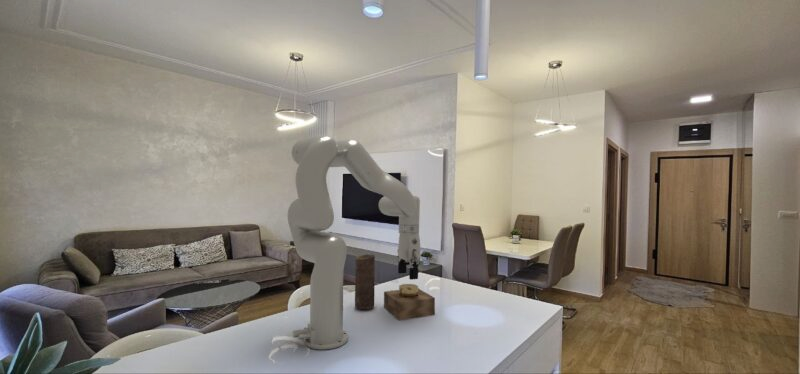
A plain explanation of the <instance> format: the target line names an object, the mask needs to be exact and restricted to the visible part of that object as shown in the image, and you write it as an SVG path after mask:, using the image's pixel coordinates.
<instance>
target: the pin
mask: <svg viewBox="0 0 800 374" xmlns="http://www.w3.org/2000/svg"><path fill="white" fill-rule="evenodd" d="M418 288H419V285H417V284H413V283H403V284H400V285H399V286H398V290H399V296H401V297H405V298H412V297H416V296H418Z"/></svg>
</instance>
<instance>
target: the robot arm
mask: <svg viewBox="0 0 800 374" xmlns="http://www.w3.org/2000/svg"><path fill="white" fill-rule="evenodd" d="M291 157H292V159H293V161H294V162H295V163H296V164H297V165H298V166H297V169H296V172H295V181H294V182H295V187H296V193H297V199H294V200H293V201H292V202H291V203H290V204H289V207H288V210H287V221H288V227H289V229H290V233H291V238H292V240H293V244H294V248H295V250H296V252H297V254H298V256H299V257H300V258H301V259H303V260H305V262H306V261H307V262H309V263H314V265H313V268H312V271H311V274H310V281H309V282H310V285H309V289H310V290H309V292H310V295H309V296H310V298H309V300H310V302H309V306H310V307H309V323H307V327H304V328H303V329H295V330H292V332H293V333H292V337H293V338H298V340H303V341H304V345H306V347H308V348H310V349H313V350H320V351H321V350H332V349H335V348H339V347H341V346H344V345H345V344H346V343H347V342H348V341H349V340H348V339H349V334H348V332H347V331H345V330H344V274H345V273H344V272H345V265H346V258H347V252H348V251H347V250H348V246H347V244H346V242H345V240H344V239H343V238H342V237H341V236H339V235H338V234H336V233H331V232H325V231H326V230H328V229H329V228H331V227H332V226H333V224H334V222H335V221H334V220H335V212H334V209H333V206H332V202H331V201H332V200H331V197H330V193H329V189H328V185H327V184H328V182H327V175H328V172H329V169H330V168H342V167H343V168H346V170H347V171H348V172H349V173H350V175H352V176H353V178H354V179H355V180H356V181H357V182H358V183H359V185H360V186H361V187H362V188H364V189H366V190H368V191H371V192H372V193H376V194H378V195H381V196H383V197H381V198H380V199H379V201H378V209H379V211H380V213H381V214H383V215H385V216H389V217H398V234H399V237H398V248H397V250H396V251H397V258H398V260H397V263H398V268H397V269H398V270H397V273H398V274H399V275H400V274H406V273H407V263H409V270H408V271H409V273H408V275H409V276H408V277H409V280H418V279H419V268H420V264H421V263H420V262H421V237H420V204H421V200H420V197H419V196H416V195H413V194H412V191H410V189H409V188H408V187H407V186H406V185H405V184H404V183H403V182H402V181H400V180H399V179H397V178H396V177H394V176H393V175H390V174H389V173H388V172H386V171H385V170H383V169H382V168H381V167H380V166H379V165H378V163H377V162H376V161H375V160H374V158H373V157H372V156H371V154H370V153H369V152H368V151H367V149H366V148H365V147H364V145H363V144H362V143H360V141H358V140H355V139H350V138H348V139H342V140H336V139H335V138H333V137H332V136H329V135H317V136H311V137H308V138H307V137H306V138H302V139H298V140H297V141H296V142H295V143H294V144H293V146H292V148H291Z"/></svg>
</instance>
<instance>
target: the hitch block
mask: <svg viewBox="0 0 800 374" xmlns="http://www.w3.org/2000/svg"><path fill="white" fill-rule="evenodd" d="M435 299H436V297H434V296H432V295H431V294H429V293H427V292H425V291H424V290H422V289H420V288H419V287H418V296H416V297H412V298H405V297H401V296H399V289H395V290H386V291H384V292H383V308H384V309H385V310H386V311H387V312H388V313H390V315H392V316H393V317H394V318H395V319H397V320H398V321H404V320H410V319H415V318H423V317H429V315H430V316H434V315H435V314H436V313H435V312H436V309H435V308H436V301H435Z"/></svg>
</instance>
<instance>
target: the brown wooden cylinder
mask: <svg viewBox="0 0 800 374" xmlns="http://www.w3.org/2000/svg"><path fill="white" fill-rule="evenodd" d="M375 257H376V255H375V254H372V253H370V254H358V255H356V257H355V272H354V273H355V278H354V279H355V280H354V281H355V283H354V284H355V285H354V307H355V308H356V309H358V310H367V309H368V310H369V309H371V308H374V307H375V271H376V270H375V269H376V268H375V263H376V262H375Z"/></svg>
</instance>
